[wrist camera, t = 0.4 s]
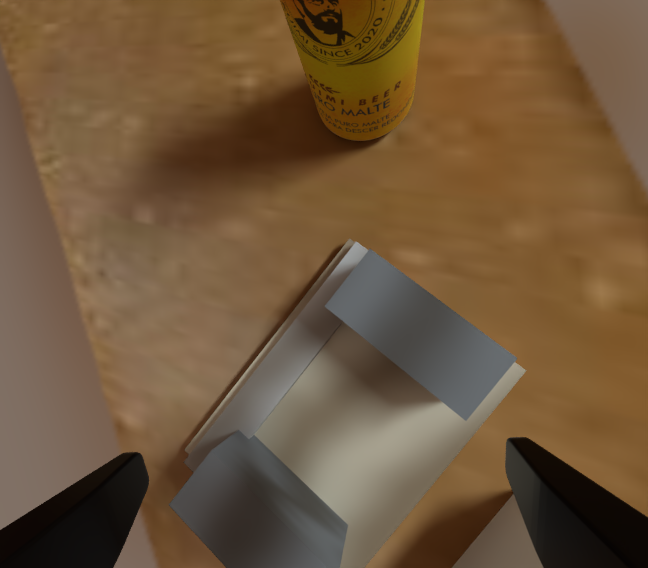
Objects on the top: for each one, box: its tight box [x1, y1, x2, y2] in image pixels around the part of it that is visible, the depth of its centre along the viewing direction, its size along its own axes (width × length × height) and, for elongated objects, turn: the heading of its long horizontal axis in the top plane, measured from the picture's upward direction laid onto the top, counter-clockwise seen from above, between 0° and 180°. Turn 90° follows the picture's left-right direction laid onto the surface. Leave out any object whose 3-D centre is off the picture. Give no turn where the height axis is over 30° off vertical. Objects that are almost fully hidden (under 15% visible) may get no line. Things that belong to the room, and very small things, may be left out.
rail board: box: [169, 239, 526, 568], centre depth 19 cm, size 12×16×5 cm
